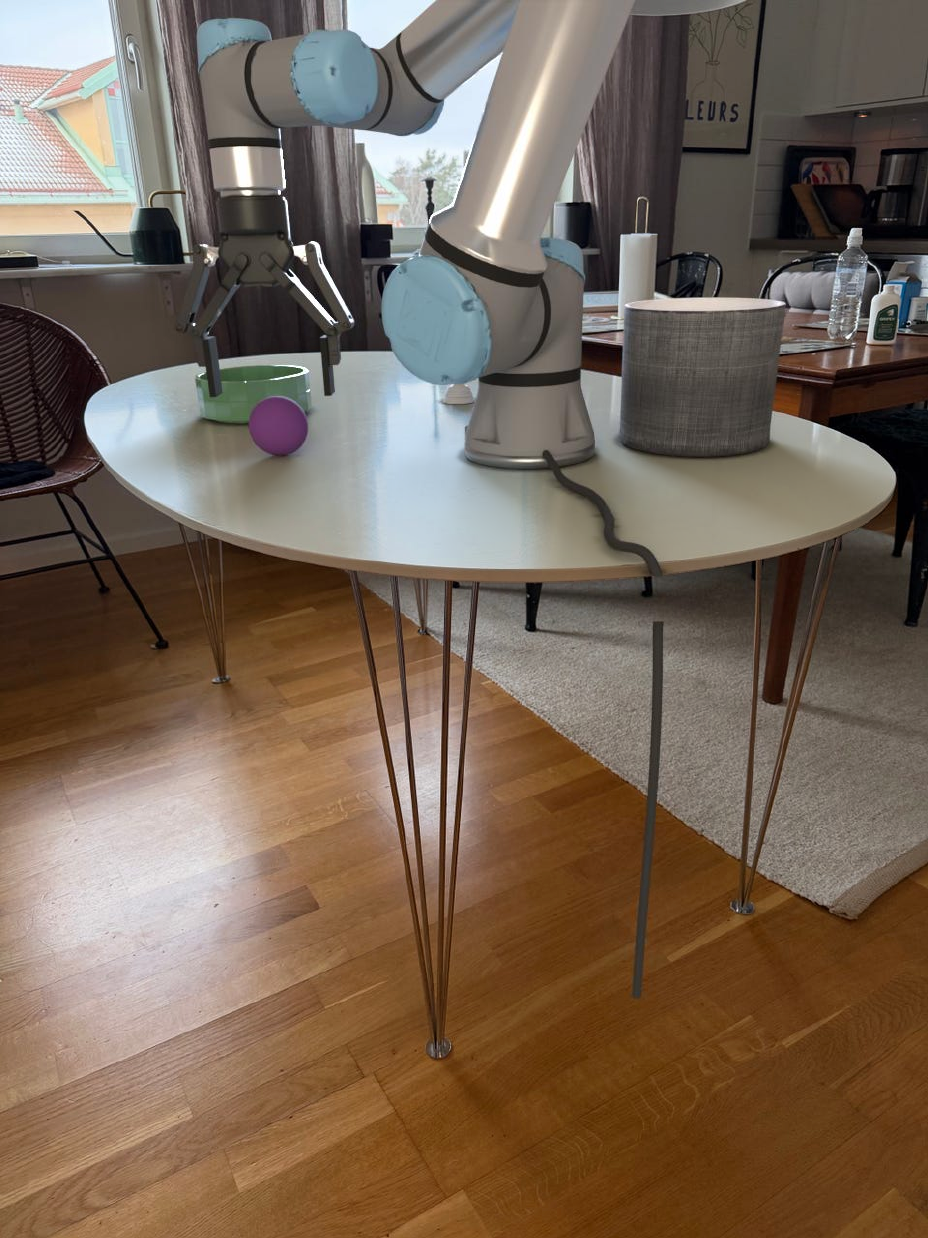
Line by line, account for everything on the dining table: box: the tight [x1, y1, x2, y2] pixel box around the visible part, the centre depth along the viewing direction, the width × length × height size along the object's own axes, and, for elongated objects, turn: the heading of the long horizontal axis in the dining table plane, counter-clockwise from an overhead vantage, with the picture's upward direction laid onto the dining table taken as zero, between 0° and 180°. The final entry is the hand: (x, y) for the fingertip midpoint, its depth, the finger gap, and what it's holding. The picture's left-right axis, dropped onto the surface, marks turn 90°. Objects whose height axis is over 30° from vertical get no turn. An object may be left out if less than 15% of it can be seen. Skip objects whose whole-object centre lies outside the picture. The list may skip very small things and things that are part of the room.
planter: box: [618, 297, 787, 458], centre depth 101 cm, size 18×18×16 cm
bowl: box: [194, 364, 313, 424], centre depth 127 cm, size 16×16×6 cm
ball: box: [248, 396, 309, 457], centre depth 103 cm, size 7×7×7 cm
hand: (272, 394), depth 101 cm, fingers open, 13 cm apart
